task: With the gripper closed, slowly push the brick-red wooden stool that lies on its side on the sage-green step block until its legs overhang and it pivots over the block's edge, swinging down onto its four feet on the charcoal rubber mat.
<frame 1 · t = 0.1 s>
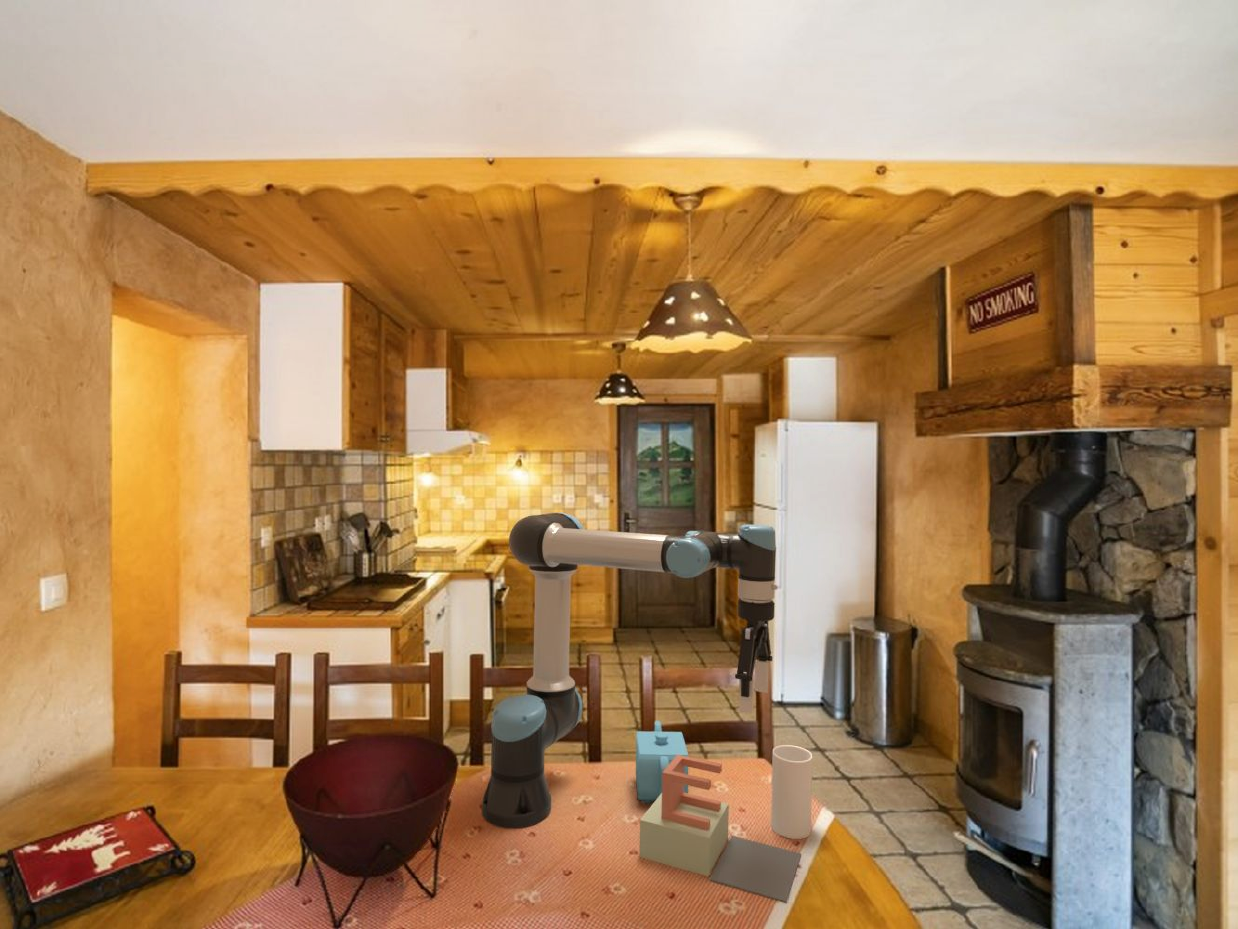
hand: (753, 701, 136), 28 cm above the table, fingers open, 13 cm apart
mat: (756, 867, 125), on the table
step block: (684, 847, 131), on the table
teapot: (659, 790, 154), on the table
stool: (673, 786, 132), point 12 cm above the table, touching step block
cup: (790, 829, 139), on the table
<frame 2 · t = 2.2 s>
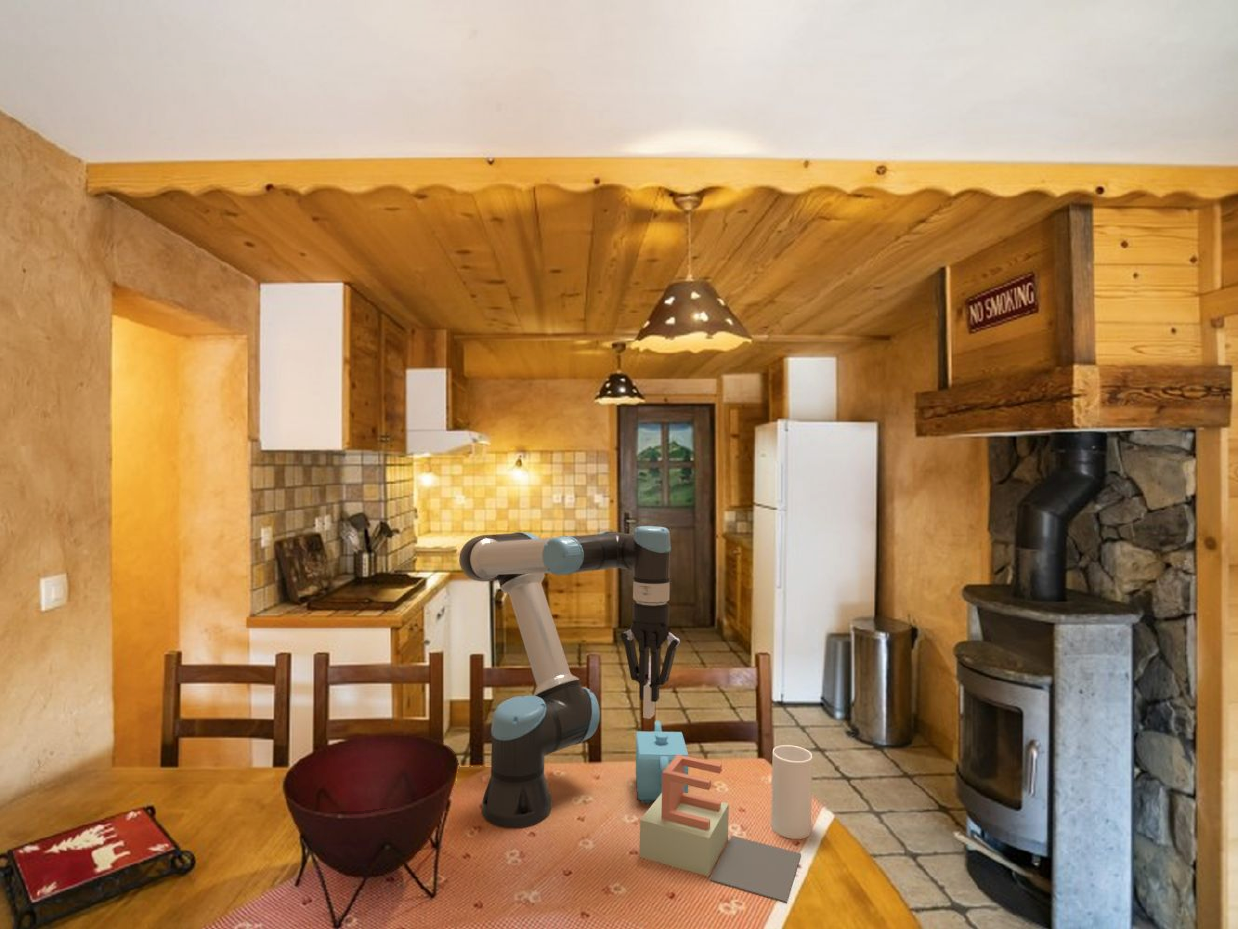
hand: (648, 716, 134), 25 cm above the table, fingers closed
nothing on the table moved.
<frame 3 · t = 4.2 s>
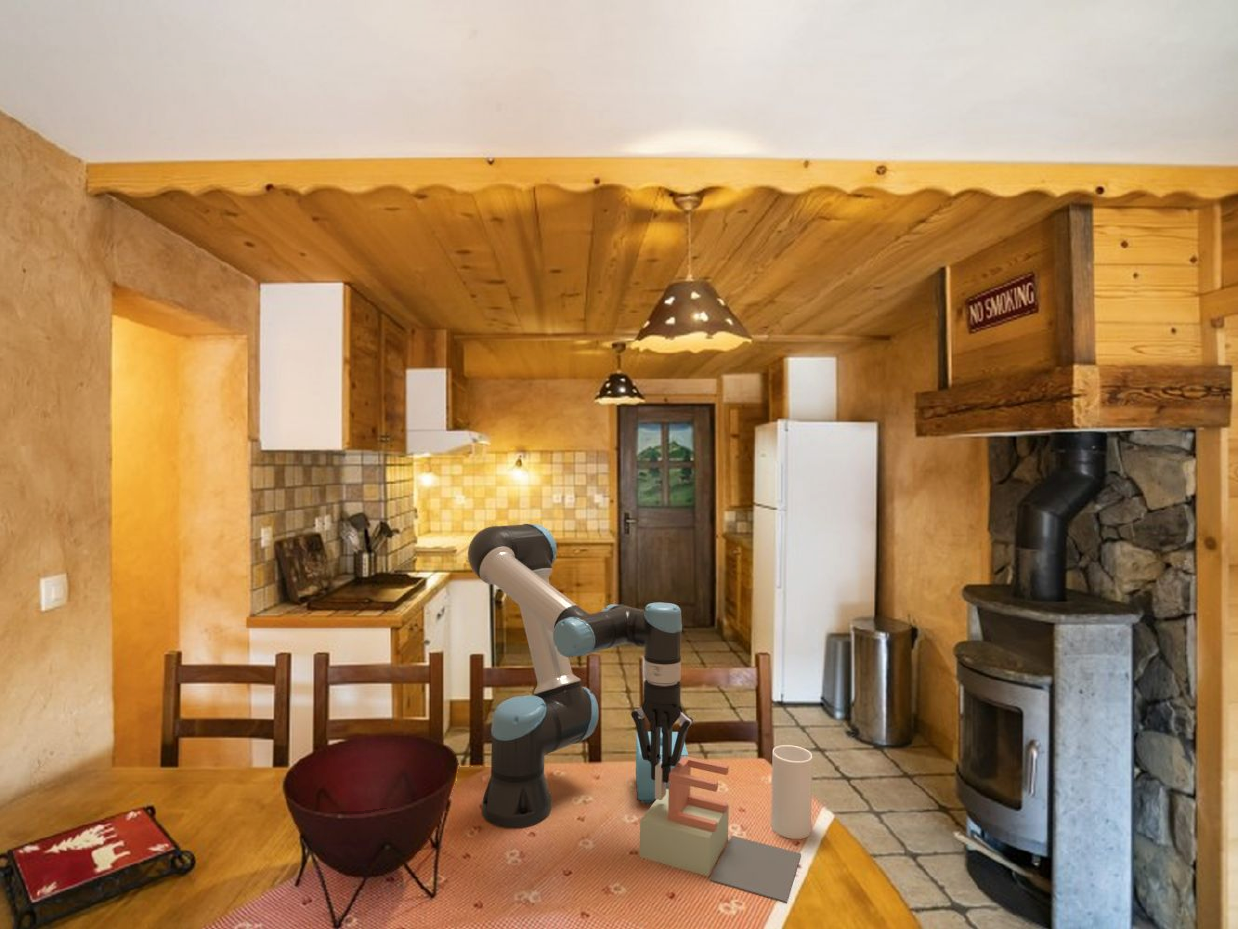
hand: (660, 796, 133), 9 cm above the table, fingers closed
stool: (679, 787, 131), point 12 cm above the table, touching gripper
everything else where it was.
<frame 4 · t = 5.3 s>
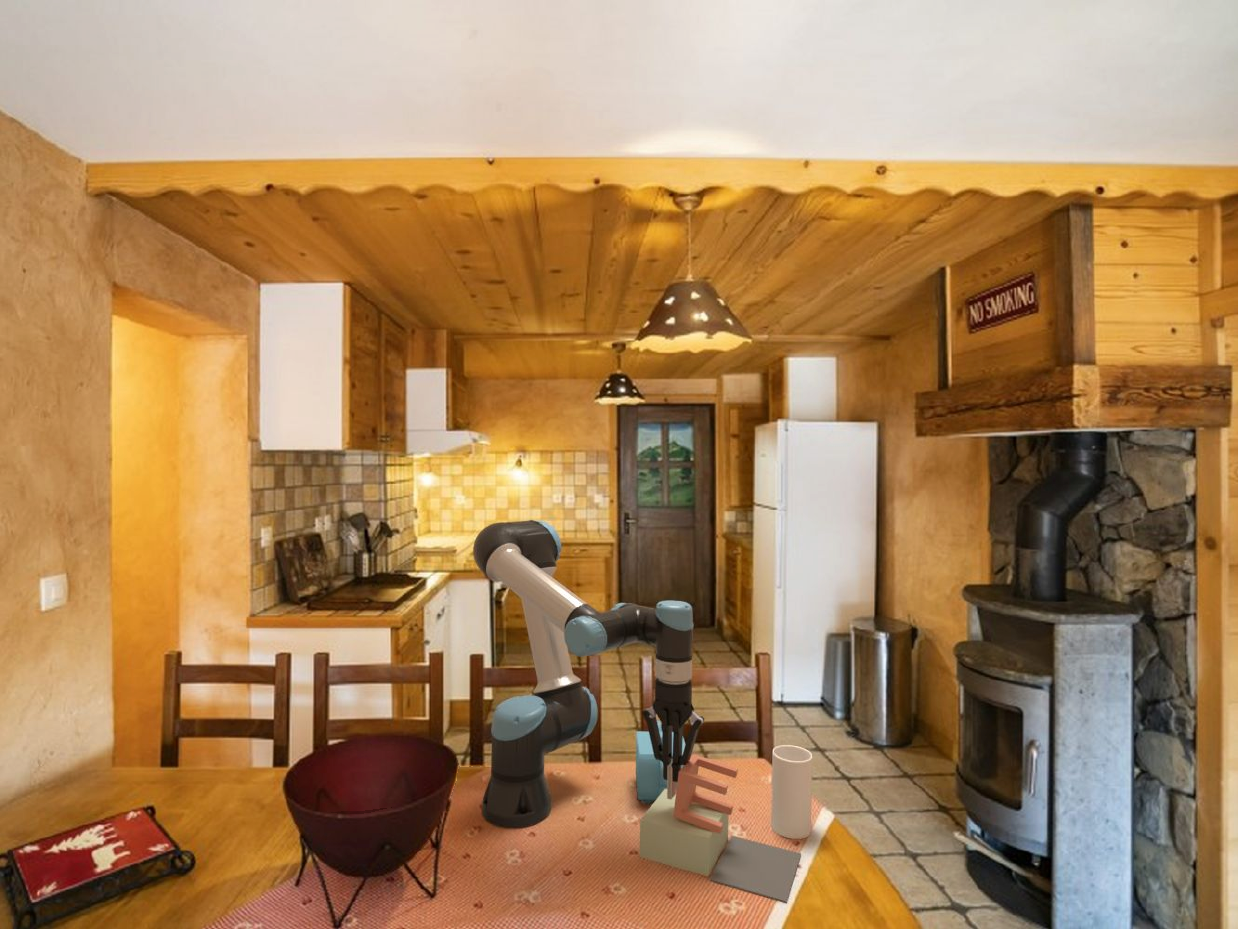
hand: (671, 796, 132), 10 cm above the table, fingers closed
stool: (686, 785, 131), point 12 cm above the table, tilted 6°, touching gripper, hand, step block
everything else where it was.
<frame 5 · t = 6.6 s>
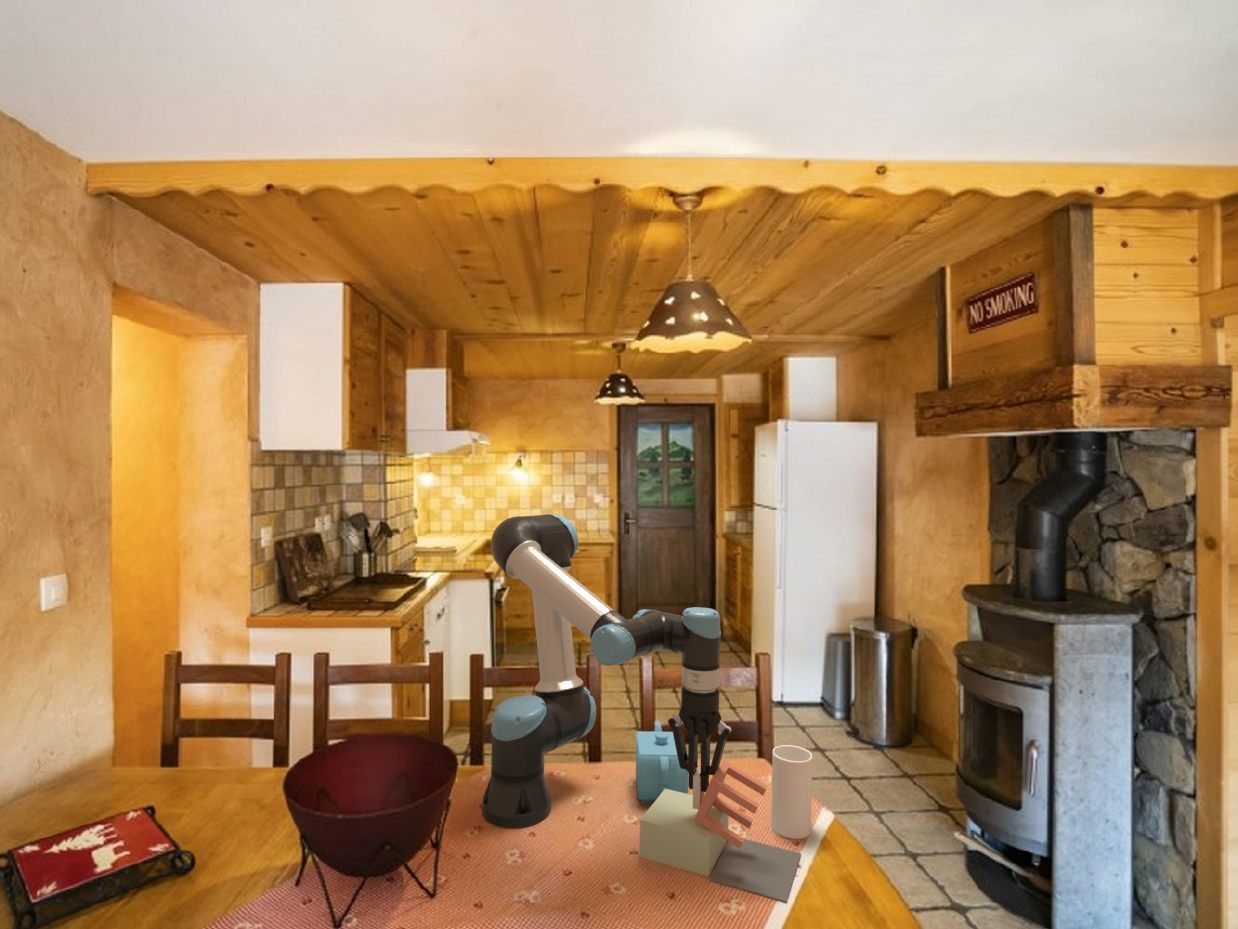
hand: (698, 806, 130), 9 cm above the table, fingers closed
stool: (712, 791, 128), point 13 cm above the table, tilted 20°, touching gripper
everything else where it was.
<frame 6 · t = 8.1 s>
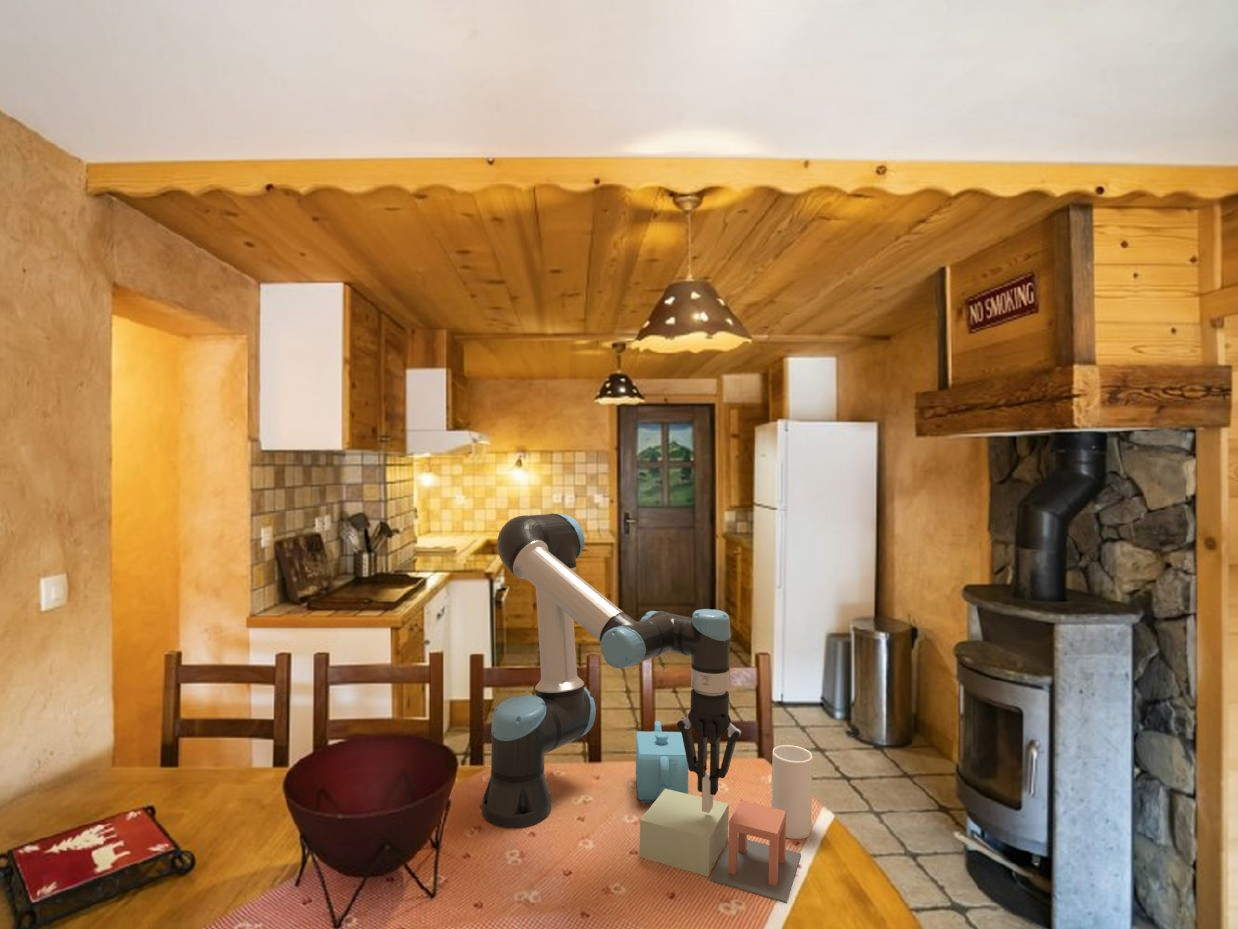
hand: (707, 808, 129), 9 cm above the table, fingers closed
stool: (758, 820, 125), point 9 cm above the table, tilted 90°, touching mat
everything else where it was.
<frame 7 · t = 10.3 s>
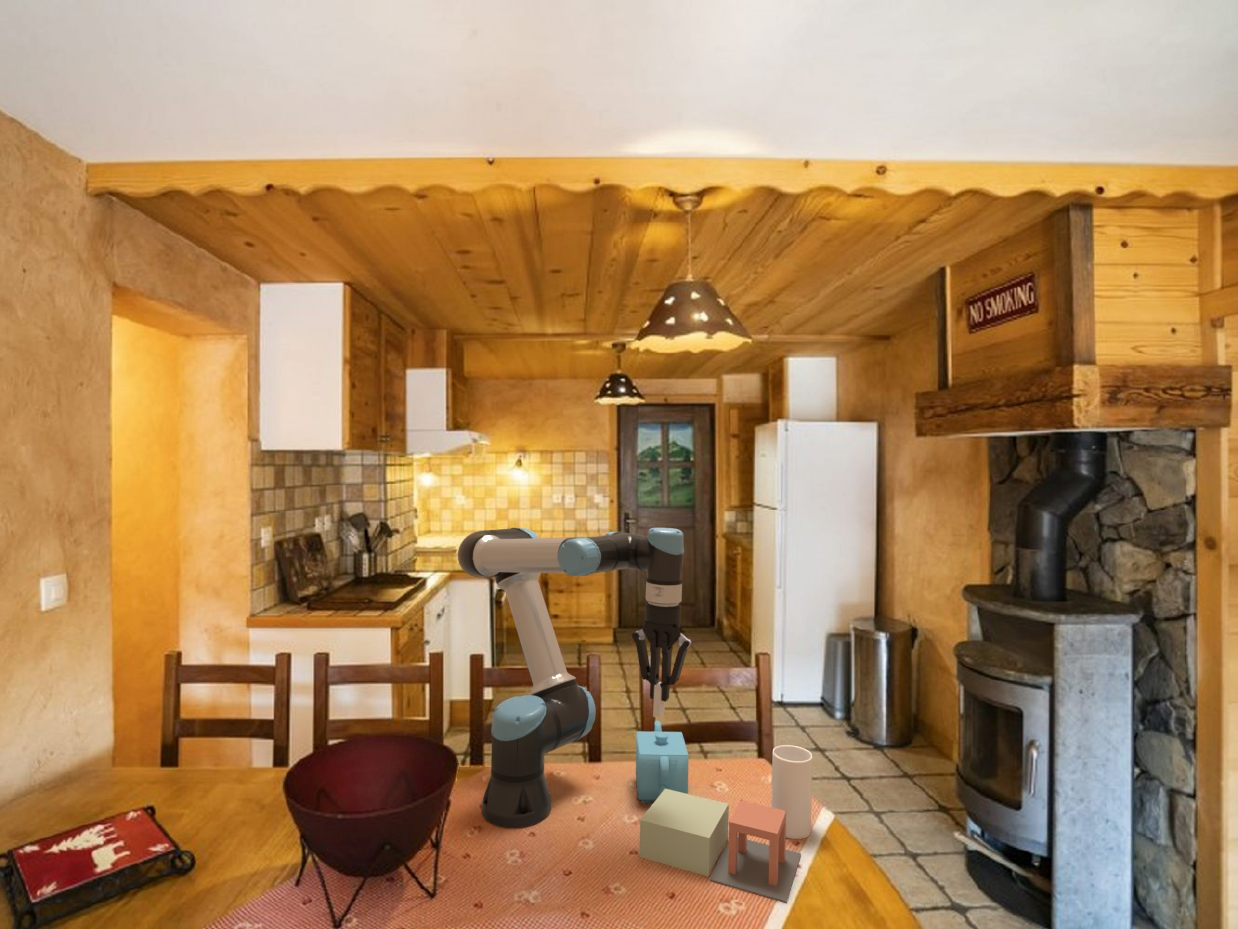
hand: (658, 715, 136), 25 cm above the table, fingers closed
nothing on the table moved.
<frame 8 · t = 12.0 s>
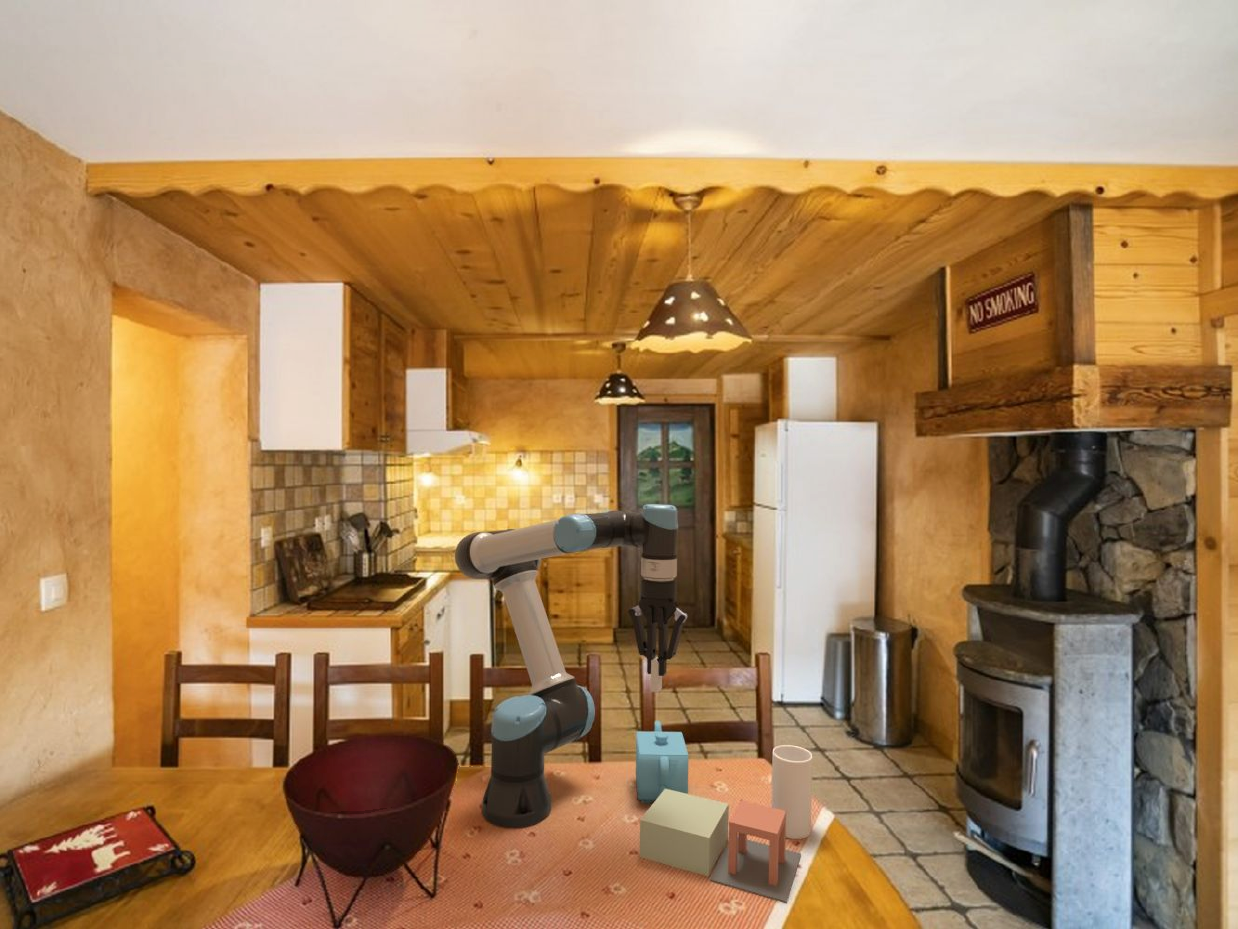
hand: (656, 690, 137), 29 cm above the table, fingers closed
nothing on the table moved.
at the end: stool inside the target area (0.9 cm from its centre), point 9.0 cm above the table; stool tilted 90° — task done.
